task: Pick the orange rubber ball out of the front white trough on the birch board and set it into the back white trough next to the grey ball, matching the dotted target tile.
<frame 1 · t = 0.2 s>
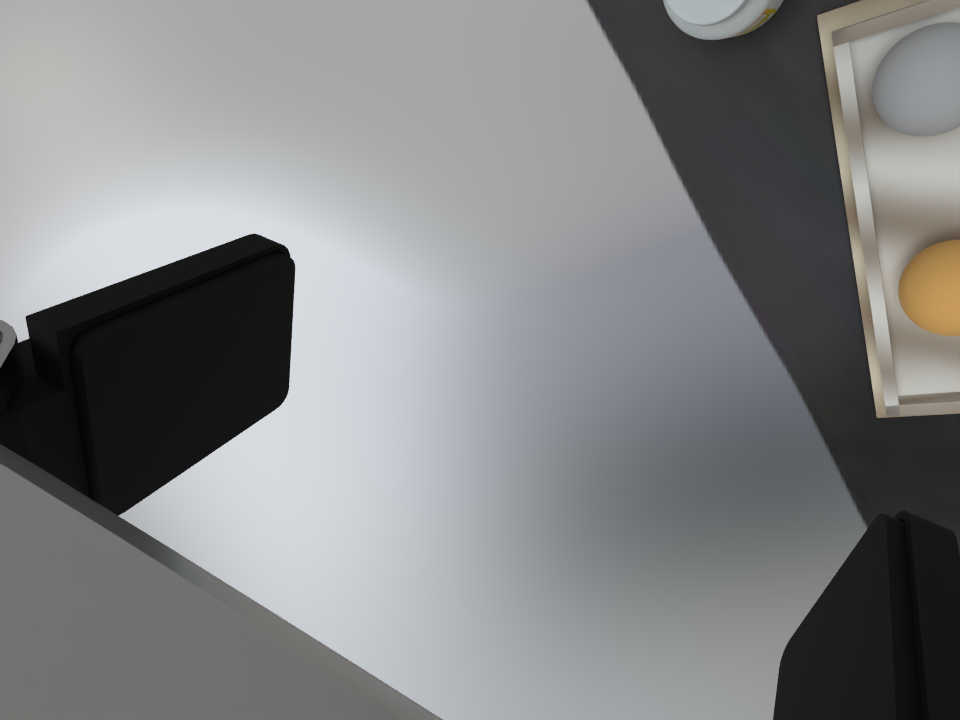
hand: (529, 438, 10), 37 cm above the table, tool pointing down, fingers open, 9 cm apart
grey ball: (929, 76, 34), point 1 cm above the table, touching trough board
orange ball: (949, 273, 37), point 1 cm above the table, touching trough board
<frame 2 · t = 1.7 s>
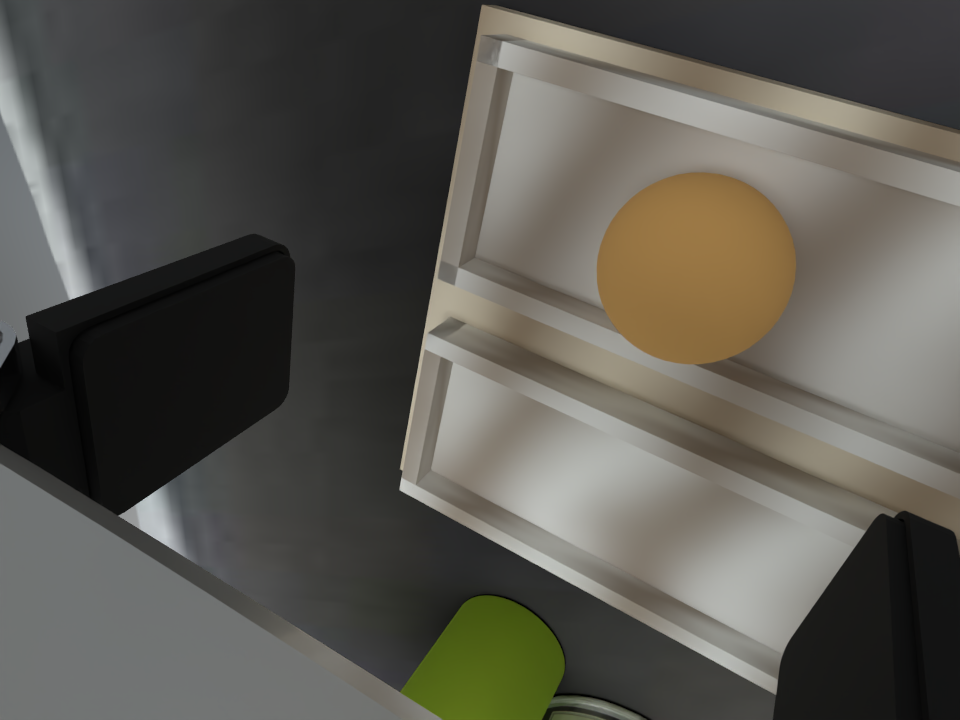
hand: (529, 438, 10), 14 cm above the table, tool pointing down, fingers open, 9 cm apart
soap dispenser: (502, 639, 34), on the table
orange ball: (710, 245, 20), point 1 cm above the table, touching trough board
trough board: (750, 400, 23), on the table
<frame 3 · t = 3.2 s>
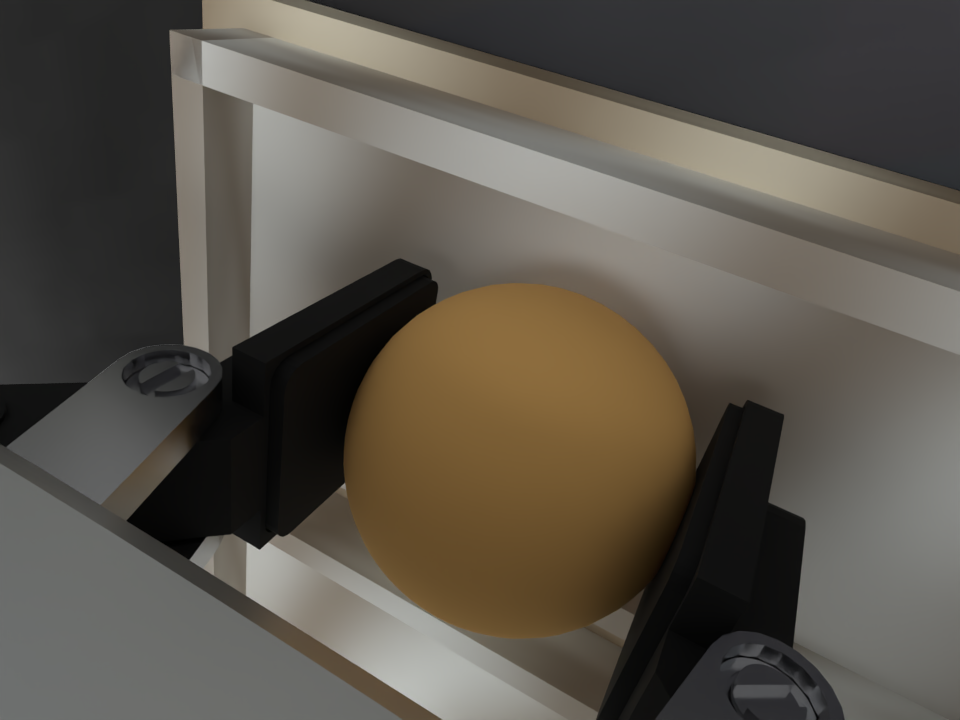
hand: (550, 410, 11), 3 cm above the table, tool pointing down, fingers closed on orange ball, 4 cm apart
orange ball: (574, 381, 12), point 1 cm above the table, touching gripper, trough board
trough board: (662, 590, 15), on the table
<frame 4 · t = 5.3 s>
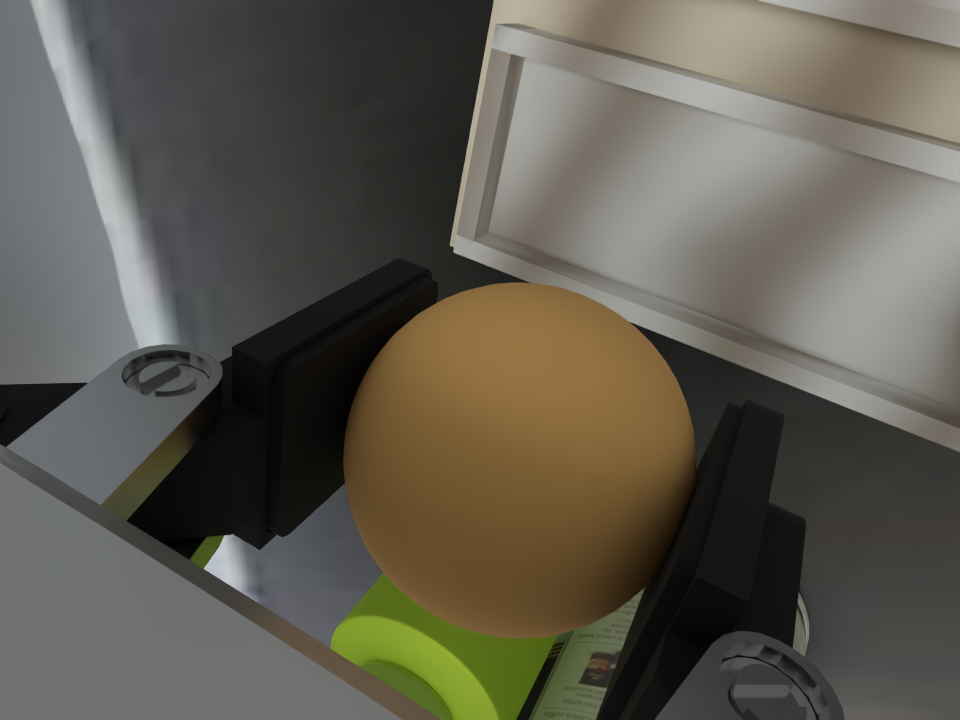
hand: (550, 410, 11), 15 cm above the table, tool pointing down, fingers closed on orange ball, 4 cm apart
soap dispenser: (559, 457, 31), on the table
coffee can: (687, 600, 31), on the table
orange ball: (574, 380, 12), point 14 cm above the table, touching gripper
trough board: (881, 73, 20), on the table
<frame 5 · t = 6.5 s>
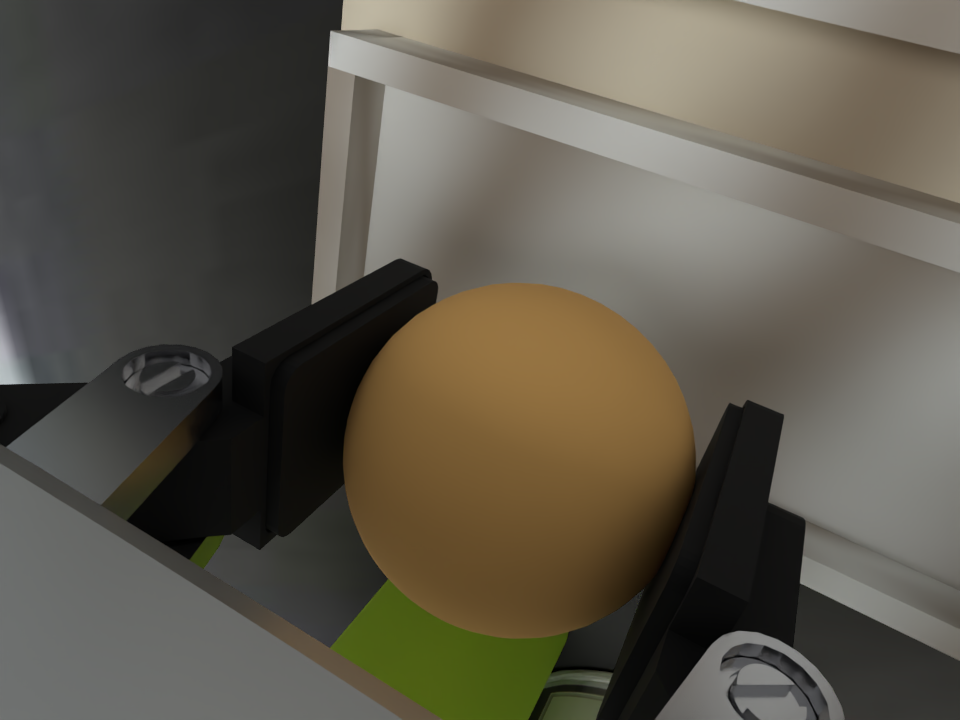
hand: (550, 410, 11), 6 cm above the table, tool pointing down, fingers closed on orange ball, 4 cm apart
soap dispenser: (478, 591, 24), on the table
orange ball: (574, 380, 12), point 5 cm above the table, touching gripper
trough board: (911, 111, 12), on the table
when the fingers open (4 cm above the table, at t = 7.3 s): orange ball drops 1 cm, resting on trough board.
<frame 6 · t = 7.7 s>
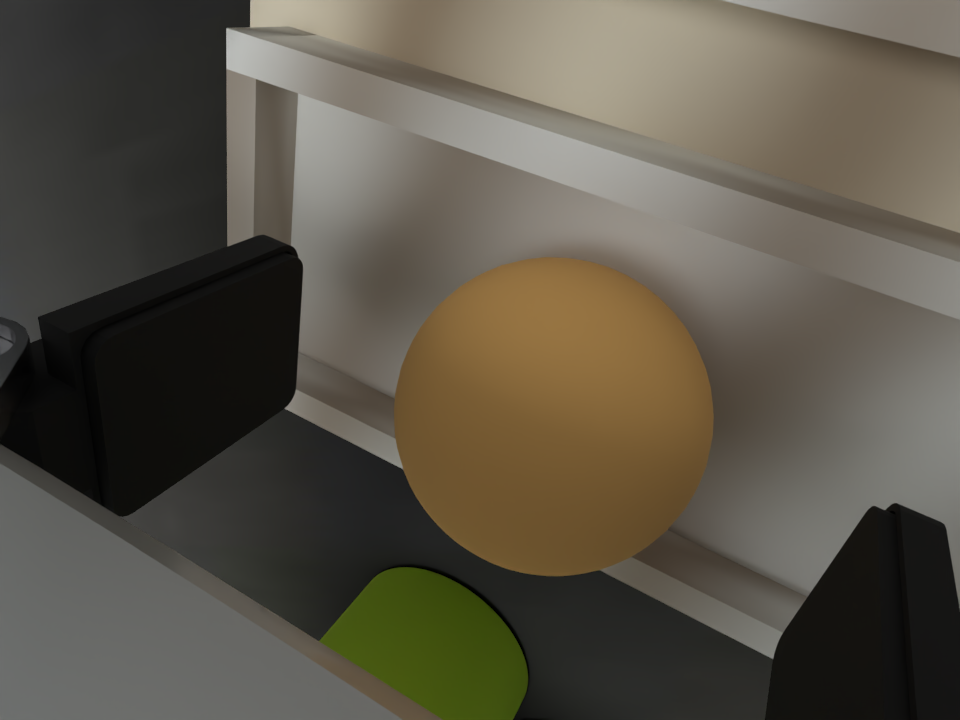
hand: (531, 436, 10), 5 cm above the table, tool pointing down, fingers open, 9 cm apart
soap dispenser: (432, 637, 22), on the table
orange ball: (598, 352, 13), point 1 cm above the table, touching trough board
trough board: (892, 120, 11), on the table
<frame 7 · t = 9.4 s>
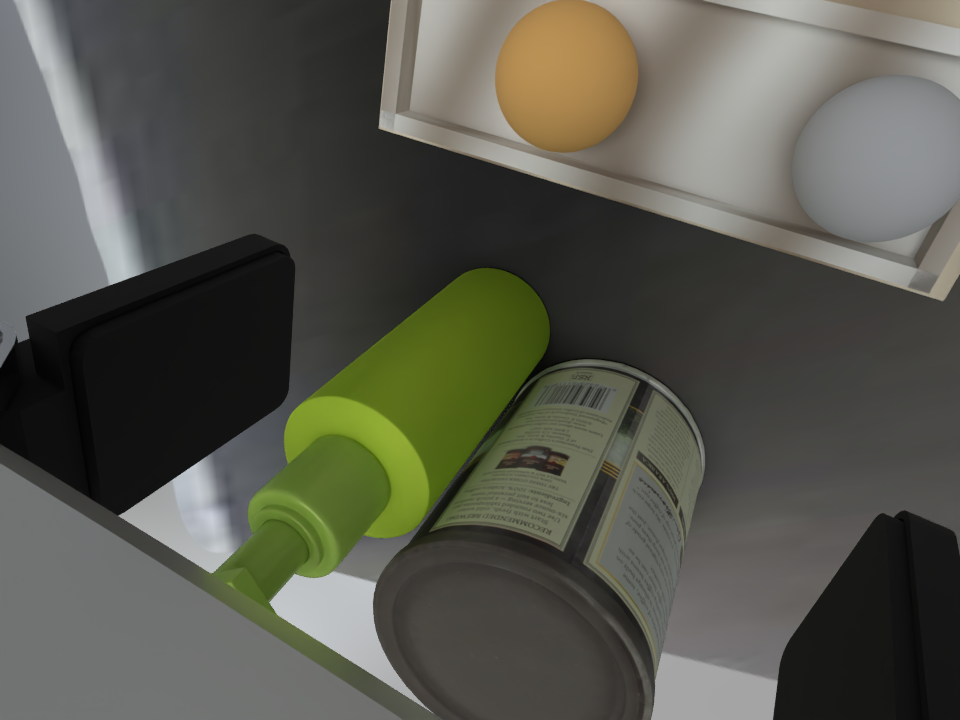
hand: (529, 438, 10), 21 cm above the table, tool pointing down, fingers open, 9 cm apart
soap dispenser: (487, 324, 35), on the table
coffee can: (604, 446, 35), on the table
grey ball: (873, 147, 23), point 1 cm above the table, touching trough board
orange ball: (586, 73, 26), point 2 cm above the table, touching trough board
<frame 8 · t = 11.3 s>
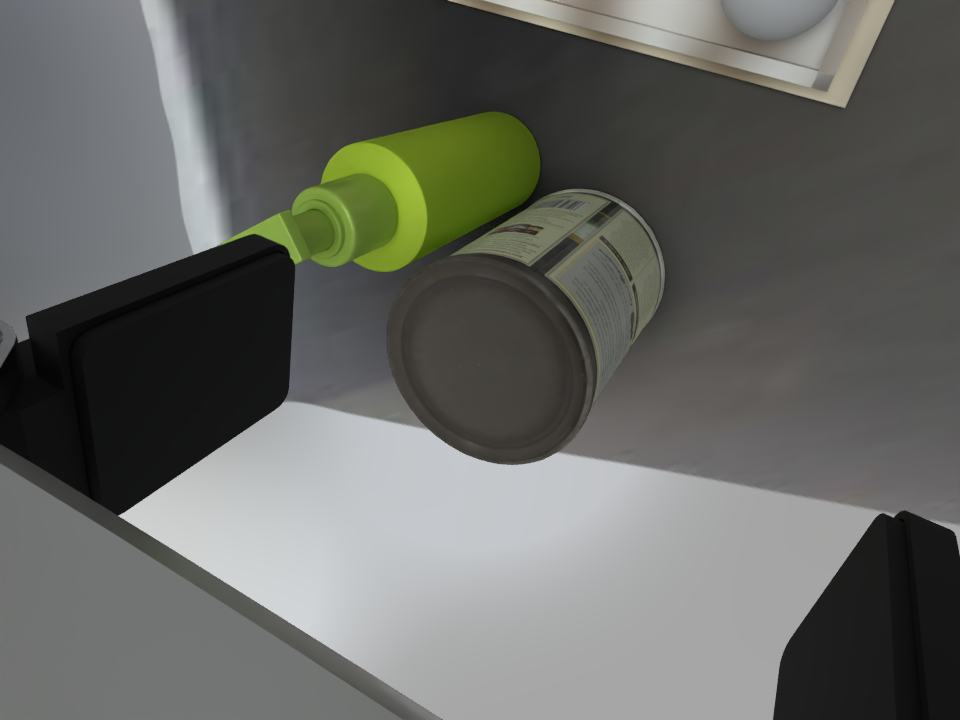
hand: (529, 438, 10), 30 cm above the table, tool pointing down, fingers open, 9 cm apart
soap dispenser: (490, 165, 42), on the table
coffee can: (584, 271, 42), on the table
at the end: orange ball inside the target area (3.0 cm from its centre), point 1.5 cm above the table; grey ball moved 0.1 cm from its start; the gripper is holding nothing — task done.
